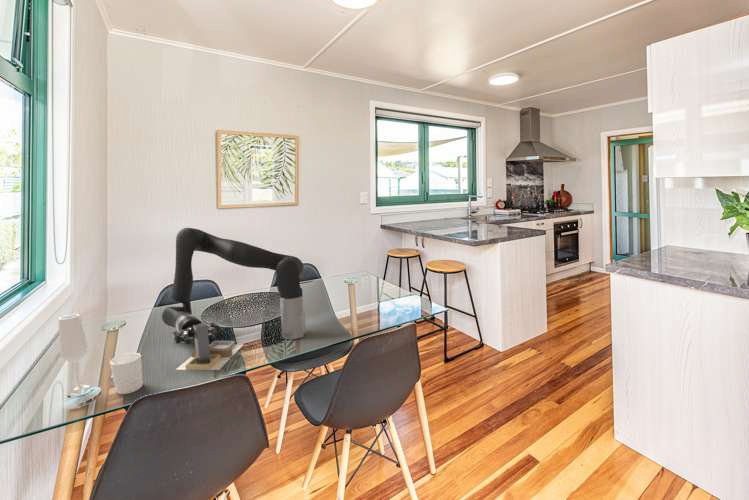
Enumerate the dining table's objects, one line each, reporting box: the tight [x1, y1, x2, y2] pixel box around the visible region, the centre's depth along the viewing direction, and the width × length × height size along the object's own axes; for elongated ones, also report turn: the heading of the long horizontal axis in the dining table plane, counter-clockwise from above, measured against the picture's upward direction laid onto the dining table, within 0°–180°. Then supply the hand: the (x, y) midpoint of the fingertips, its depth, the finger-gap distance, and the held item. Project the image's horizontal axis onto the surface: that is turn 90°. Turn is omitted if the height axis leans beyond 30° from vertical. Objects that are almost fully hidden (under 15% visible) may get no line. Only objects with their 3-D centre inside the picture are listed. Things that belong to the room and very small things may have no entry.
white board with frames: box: [175, 340, 245, 371], centre depth 130 cm, size 20×15×4 cm
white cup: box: [109, 352, 143, 395], centre depth 110 cm, size 8×8×10 cm
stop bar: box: [193, 322, 211, 364], centre depth 123 cm, size 4×4×14 cm
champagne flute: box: [58, 313, 90, 390], centre depth 108 cm, size 7×7×24 cm
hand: (203, 338), depth 122 cm, fingers open, 8 cm apart
